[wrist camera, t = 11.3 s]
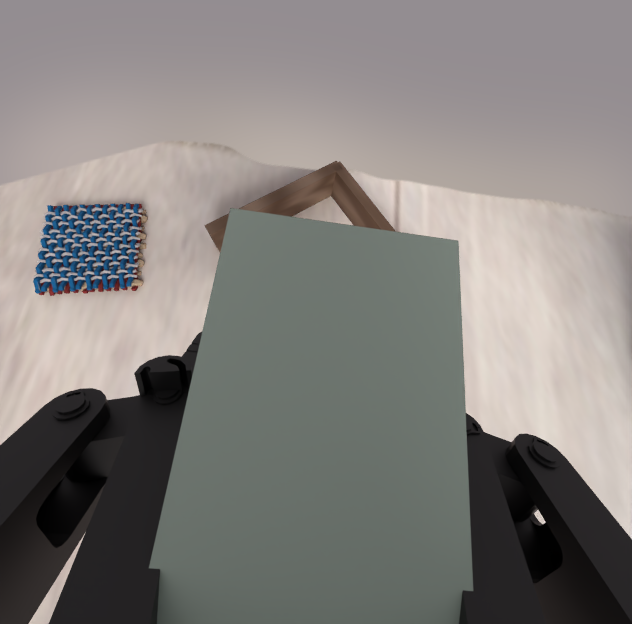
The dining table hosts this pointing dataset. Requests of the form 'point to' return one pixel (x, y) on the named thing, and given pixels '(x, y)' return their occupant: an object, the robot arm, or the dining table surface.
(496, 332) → the dining table surface
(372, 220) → the walnut corner arena
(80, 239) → the woven mat
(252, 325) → the sage block
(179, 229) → the dining table surface
